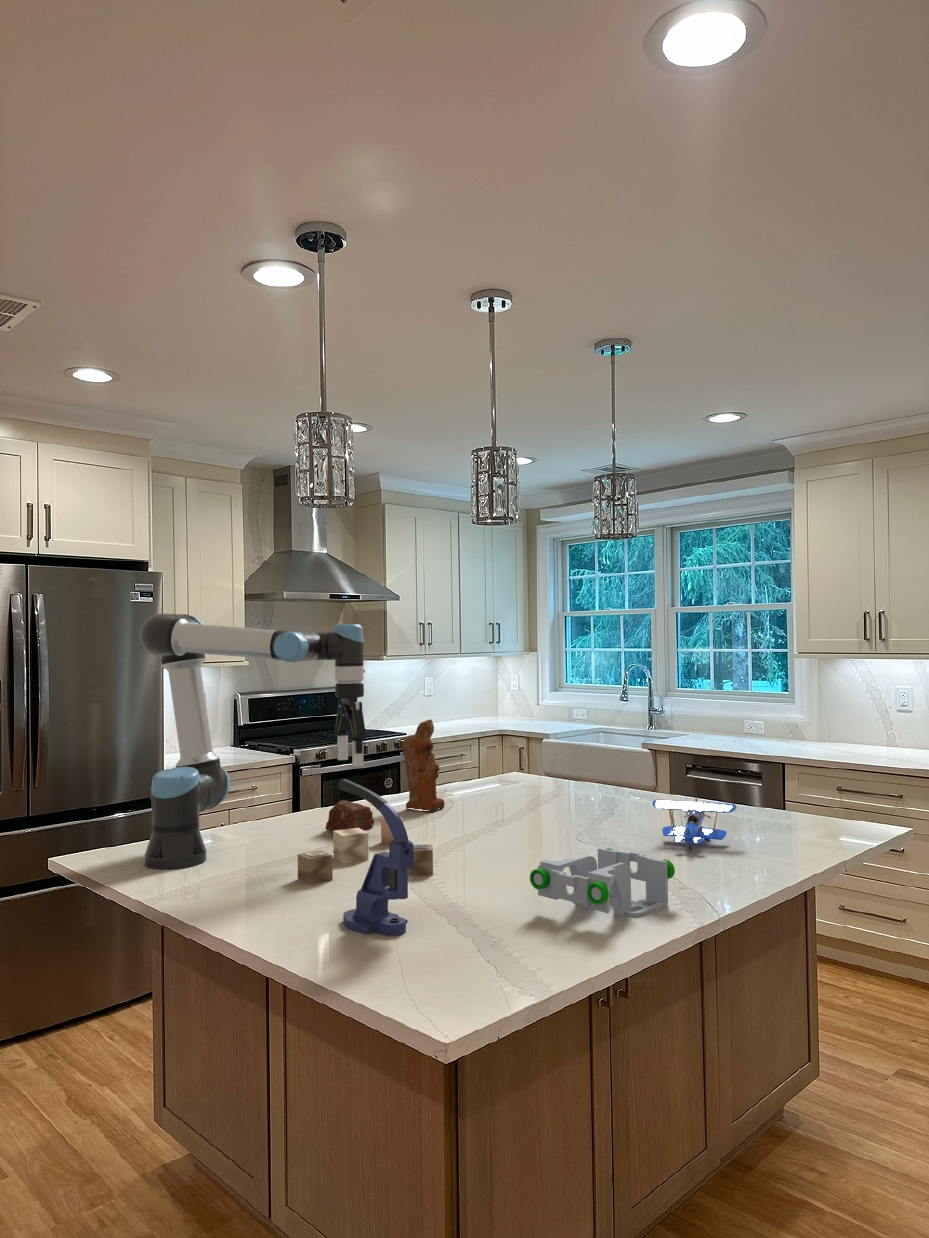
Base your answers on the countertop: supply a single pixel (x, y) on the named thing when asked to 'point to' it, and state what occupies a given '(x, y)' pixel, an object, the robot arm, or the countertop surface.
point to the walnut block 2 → (422, 860)
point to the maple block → (350, 845)
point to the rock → (349, 817)
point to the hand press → (381, 874)
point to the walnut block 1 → (315, 867)
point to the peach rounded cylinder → (386, 832)
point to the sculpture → (421, 769)
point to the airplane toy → (693, 820)
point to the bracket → (606, 881)
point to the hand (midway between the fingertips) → (350, 762)
